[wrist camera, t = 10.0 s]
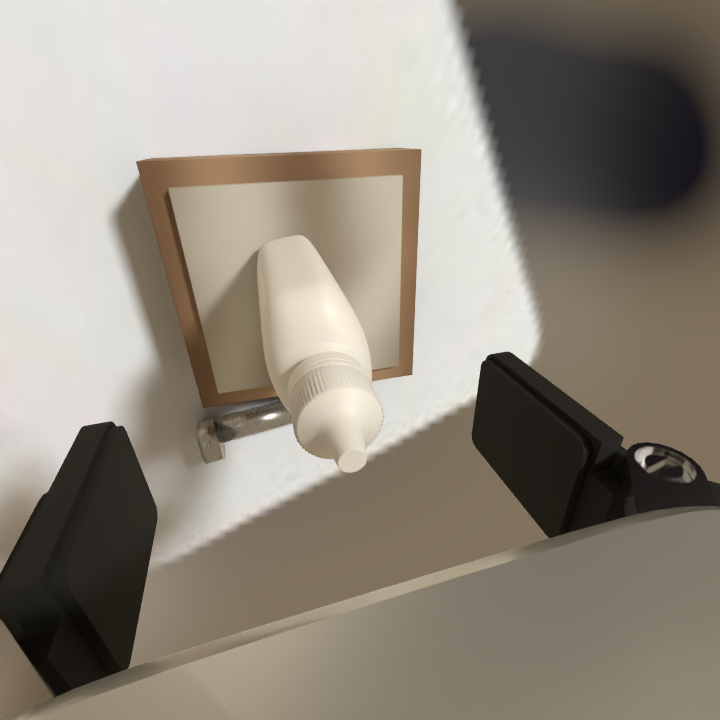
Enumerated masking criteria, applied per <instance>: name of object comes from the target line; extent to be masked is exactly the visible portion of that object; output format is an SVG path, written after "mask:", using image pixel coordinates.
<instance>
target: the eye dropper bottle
mask: <svg viewBox="0 0 720 720" xmlns="http://www.w3.org/2000/svg"><path fill="white" fill-rule="evenodd" d="M257 282H258V294H259V307H260V318H261V330H262V339H263V349H264V355H265V361H266V365H267V369H268V373H269V376H270V379H271V382H272V384H273V387H274V389H275V391H276V393H277V395H278V397H279V398H280V400H281V402H282V403H283V405H284V406H285V408H286V409H287V410H288V411H289V413H290V414H291V415H292V421H293V427H294V433H295V436H296V439H297V441H298V442H299V444H300V445H301V446H302V448H303V449H305V451H308V453H310V454H312V455H315V456H317V457H320V458H325V459H334V460H335V462H336V464H337V465H338V467H339V468H340V470H342V471H344V472H347V473H351V472H355V471H358V470H360V469H361V468H362V467H363V466H364V465H365V463H366V461H367V456H366V447H367V446H368V445H370V444H371V443H372V442H373V440H374V439H375V438H376V437H377V435H378V433H379V432H380V429H381V426H382V422H383V417H384V416H383V408H382V405H381V403H380V400H379V399H378V397H377V395H376V393H375V391H374V389H373V387H372V385H371V383H372V366H371V358H370V352H369V348H368V344H367V341H366V337H365V334H364V332H363V329H362V327H361V324H360V322H359V320H358V318H357V316H356V314H355V312H354V310H353V309H352V307H351V305H350V303H349V302H348V300H347V298H346V297H345V295H344V293H343V292H342V290H341V289H340V287H339V285H338V284H337V282H336V280H335V279H334V277H333V276H332V274H331V272H330V271H329V269H328V268H327V266H326V264H325V263H324V261H323V260H322V258H321V256H320V255H319V253H318V252H317V250H316V249H315V247H314V246H313V245H312V243H311V242H310V241H309V240H308V239H307V238H306V237H304V236H302V235H293V236H288V237H284V238H280V239H276V240H272V241H269V242H266V243H265V244H263V245H262V246H261V248H260V250H259V253H258V260H257Z"/></svg>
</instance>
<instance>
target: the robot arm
mask: <svg viewBox="0 0 720 720" xmlns="http://www.w3.org/2000/svg"><path fill="white" fill-rule="evenodd" d="M623 438H624V437H623V436H621V435H620V434H619V433H617V432H616V431H615V430H613V429H612V428H611V427H609V426H608V425H607V424H605V423H604V422H603V421H601V420H600V419H599V418H597V417H596V416H595V415H593V414H592V413H591V412H589V411H588V410H587V409H585V408H584V407H583V406H581V405H580V404H579V403H577V402H576V401H575V400H573V399H572V398H571V397H569V396H568V395H567V394H565V393H564V392H563V391H561V390H560V389H559V388H558V387H556V386H555V385H553V384H552V383H551V382H550V381H548V380H547V379H546V378H544V377H543V376H541V375H540V374H539V373H538V372H536V371H535V370H534V369H532V368H531V367H530V366H528V365H527V364H526V363H524V362H523V361H522V360H520V359H519V358H518V357H516V356H515V355H514V354H512V353H511V352H502V353H496V354H491V355H489V356H487V358H486V360H485V361H483V362H482V364H481V370H480V378H479V385H478V392H477V400H476V407H475V415H474V422H473V430H472V440H473V443H474V445H475V447H476V448H477V449H478V451H479V452H480V453H481V454H482V456H483V457H484V458H485V459H486V460H487V462H488V463H489V464H490V466H491V467H492V468H493V469H494V470H495V472H496V473H497V474H498V475H499V477H500V478H501V479H502V480H503V482H504V483H505V484H506V485H507V487H508V488H509V489H510V490H511V492H512V493H513V494H514V495H515V497H516V498H517V499H518V500H519V502H520V503H521V504H522V505H523V507H524V508H525V509H526V510H527V512H528V513H529V514H530V515H531V517H532V518H533V519H534V520H535V522H536V523H537V524H538V525H539V527H540V528H541V529H542V530H543V531H544V533H545V534H546V535H547V536H548V537H549V539H546V540H542V541H539V542H536V543H532V544H529V545H526V546H522V547H519V548H516V549H512V550H509V551H505V552H503V553H499V554H496V555H492V556H489V557H485V558H482V559H479V560H475V561H472V562H469V563H465V564H462V565H459V566H455V567H452V568H449V569H446V570H442V571H439V572H436V573H432V574H429V575H426V576H422V577H419V578H416V579H413V580H410V581H406V582H403V583H400V584H397V585H393V586H390V587H386V588H383V589H380V590H376V591H373V592H370V593H367V594H363V595H360V596H357V597H354V598H350V599H347V600H344V601H340V602H337V603H334V604H331V605H327V606H324V607H321V608H318V609H315V610H312V611H308V612H305V613H302V614H298V615H295V616H292V617H289V618H286V619H282V620H279V621H276V622H273V623H269V624H266V625H263V626H260V627H256V628H253V629H250V630H247V631H244V632H240V633H237V634H234V635H231V636H227V637H224V638H221V639H218V640H215V641H212V642H209V643H206V644H203V645H199V646H197V647H193V648H190V649H187V650H184V651H181V652H178V653H175V654H172V655H169V656H166V657H163V658H160V659H157V660H154V661H151V662H147V663H144V664H141V665H138V666H135V667H132V668H129V669H128V667H129V664H130V660H131V655H132V650H133V644H134V639H135V634H136V629H137V624H138V619H139V613H140V608H141V603H142V597H143V592H144V587H145V582H146V577H147V571H148V566H149V561H150V556H151V550H152V545H153V540H154V535H155V529H156V524H157V508H156V505H155V502H154V500H153V497H152V495H151V492H150V490H149V487H148V484H147V482H146V479H145V477H144V474H143V472H142V469H141V467H140V464H139V462H138V459H137V457H136V454H135V452H134V449H133V447H132V444H131V442H130V439H129V437H128V434H127V432H126V430H125V428H124V427H123V426H117V427H116V425H115V424H114V423H113V422H111V421H110V422H104V423H99V424H93V425H87V426H84V427H82V428H81V429H80V431H79V433H78V435H77V437H76V439H75V441H74V443H73V445H72V447H71V449H70V451H69V452H68V454H67V456H66V458H65V460H64V462H63V464H62V466H61V468H60V470H59V472H58V474H57V476H56V478H55V480H54V482H53V483H52V485H51V487H50V489H49V491H48V492H47V493H45V494H44V495H43V496H42V497H41V499H40V500H39V502H38V504H37V505H36V507H35V509H34V511H33V513H32V515H31V517H30V519H29V521H28V522H27V524H26V526H25V528H24V530H23V532H22V534H21V536H20V537H19V539H18V541H17V543H16V545H15V547H14V549H13V551H12V553H11V554H10V556H9V558H8V560H7V562H6V564H5V566H4V568H3V570H2V572H1V573H0V720H720V484H718V483H715V482H711V481H708V480H707V477H706V475H705V472H704V471H703V469H702V468H701V466H700V465H699V464H698V463H696V461H694V460H693V459H692V458H691V457H689V456H687V455H686V454H684V453H683V452H681V451H678V450H676V449H674V448H672V447H669V446H665V445H662V444H658V443H650V442H642V443H636V444H633V445H631V446H630V447H629V449H627V450H626V449H624V448H623V447H622V446H621V443H622V441H623Z"/></svg>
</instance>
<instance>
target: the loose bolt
mask: <svg viewBox="0 0 720 720" xmlns="http://www.w3.org/2000/svg"><path fill="white" fill-rule="evenodd" d="M289 424H293V421H292V415H291V414H290V413H289V411H288V410H287V409H286V408H285V406H284V405H283V403H282V402H281V401H278V402H275V403H271V404H267V405H263V406H259V407H255V408H252V409H248V410H244V411H240V412H236V413H232V414H228V415H225V416H221V417H217V418H213V419H209V420H205V421H201V422H198V423H197V438H198V443H199V448H200V451H201V454H202V457H203V459H204V461H205V462H206V463H207V464H208V463H211V462H215V461H219V460H222V459H225V445H224V442H227V441H231V440H234V439H238V438H242V437H245V436H249V435H253V434H256V433H260V432H263V431H267V430H271V429H274V428H278V427H282V426H285V425H289Z"/></svg>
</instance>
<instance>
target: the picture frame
mask: <svg viewBox="0 0 720 720" xmlns="http://www.w3.org/2000/svg"><path fill="white" fill-rule="evenodd" d="M136 163H137V166H138V170H139V174H140V177H141V181H142V185H143V188H144V192H145V196H146V199H147V203H148V207H149V210H150V214H151V218H152V221H153V225H154V229H155V232H156V236H157V240H158V243H159V247H160V251H161V255H162V258H163V262H164V266H165V269H166V273H167V277H168V280H169V284H170V288H171V291H172V295H173V299H174V302H175V306H176V310H177V313H178V317H179V321H180V324H181V328H182V332H183V335H184V339H185V343H186V346H187V350H188V354H189V357H190V361H191V365H192V368H193V372H194V376H195V379H196V383H197V387H198V390H199V394H200V398H201V401H202V405H203V408H206V407H212V406H219V405H225V404H231V403H237V402H244V401H250V400H256V399H263V398H269V397H275V396H278V395H277V393H276V391H275V389H274V387H273V384H272V382H271V379H270V376H269V373H268V369H267V365H266V361H265V355H264V349H263V339H262V330H261V318H260V307H259V294H258V282H257V260H258V253H259V250H260V248H261V246H262V245H263V244H265V243H266V242H269V241H272V240H276V239H280V238H284V237H288V236H293V235H302V236H304V237H306V238H307V239H308V240H309V241H310V242H311V243H312V245H313V246H314V247H315V249H316V250H317V252H318V253H319V255H320V256H321V258H322V260H323V261H324V263H325V264H326V266H327V268H328V269H329V271H330V272H331V274H332V276H333V277H334V279H335V280H336V282H337V284H338V285H339V287H340V289H341V290H342V292H343V293H344V295H345V297H346V298H347V300H348V302H349V303H350V305H351V307H352V309H353V310H354V312H355V314H356V316H357V318H358V320H359V322H360V324H361V327H362V329H363V332H364V334H365V337H366V341H367V344H368V348H369V352H370V358H371V366H372V381H376V380H382V379H388V378H394V377H401V376H407V375H412V366H413V341H414V317H415V292H416V268H417V244H418V219H419V195H420V170H421V149H406V148H389V149H365V150H341V151H317V152H293V153H268V154H244V155H220V156H196V157H172V158H151V159H146V160H142V161H137V162H136Z"/></svg>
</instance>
